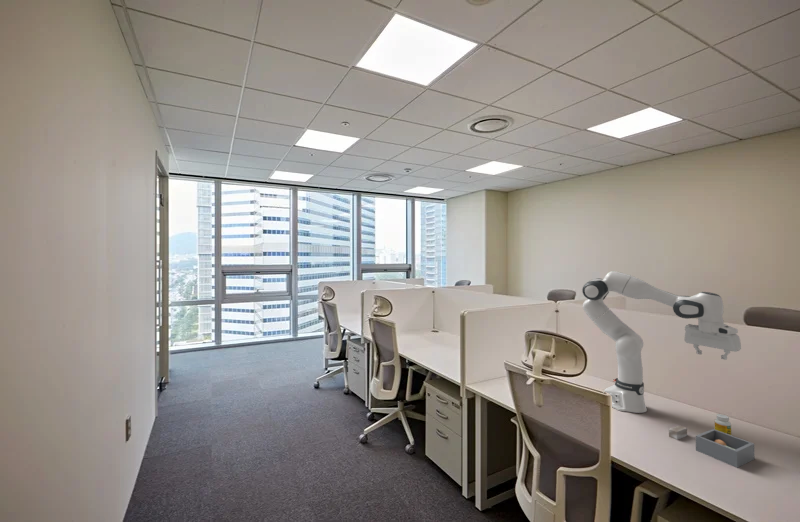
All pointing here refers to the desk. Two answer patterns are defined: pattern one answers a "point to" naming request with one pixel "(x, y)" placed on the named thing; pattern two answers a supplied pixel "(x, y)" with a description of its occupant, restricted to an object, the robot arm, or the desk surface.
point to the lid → (678, 432)
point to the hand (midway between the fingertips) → (711, 356)
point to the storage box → (725, 448)
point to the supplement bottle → (723, 424)
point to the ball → (720, 442)
